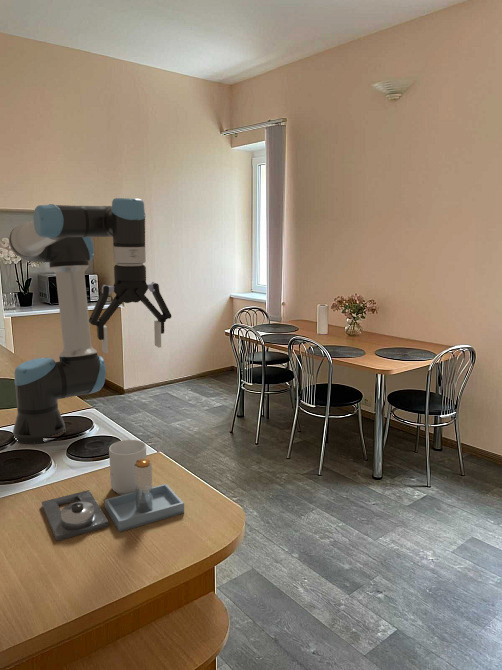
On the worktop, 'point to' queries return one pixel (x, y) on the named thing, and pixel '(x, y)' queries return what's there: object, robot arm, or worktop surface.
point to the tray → (163, 507)
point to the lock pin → (143, 485)
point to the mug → (125, 464)
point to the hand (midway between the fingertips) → (132, 349)
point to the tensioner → (74, 515)
